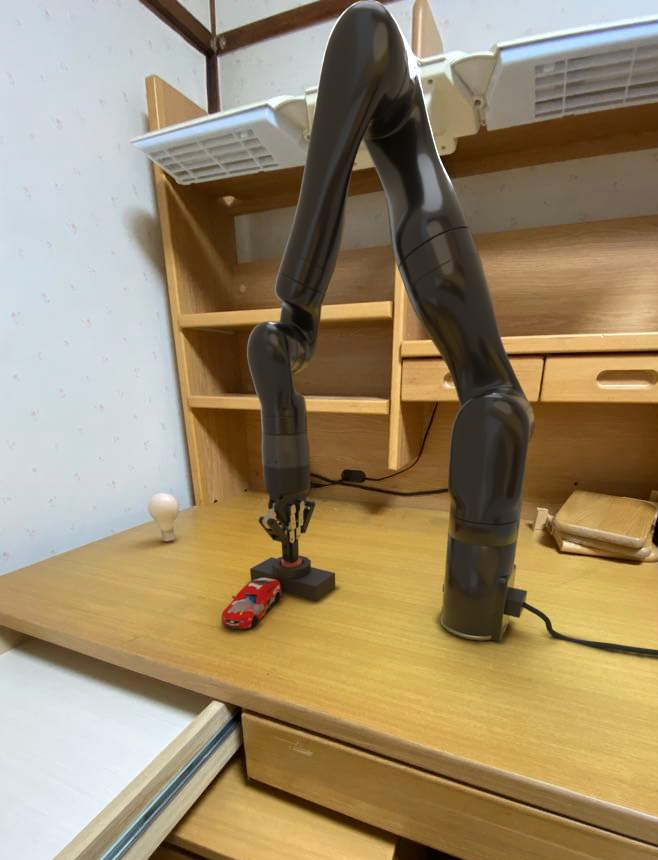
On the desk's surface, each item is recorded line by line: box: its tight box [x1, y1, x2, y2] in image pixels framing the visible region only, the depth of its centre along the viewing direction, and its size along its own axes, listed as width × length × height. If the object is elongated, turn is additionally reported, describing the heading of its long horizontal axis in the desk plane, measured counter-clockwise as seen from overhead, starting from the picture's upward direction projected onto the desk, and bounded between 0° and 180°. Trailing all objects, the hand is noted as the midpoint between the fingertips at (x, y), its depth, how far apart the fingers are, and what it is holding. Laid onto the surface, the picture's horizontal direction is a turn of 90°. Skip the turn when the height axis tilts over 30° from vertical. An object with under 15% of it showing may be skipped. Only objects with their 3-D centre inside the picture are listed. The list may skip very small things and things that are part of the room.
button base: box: [249, 554, 336, 603], centre depth 80 cm, size 14×6×4 cm, turn 59°
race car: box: [221, 578, 283, 630], centre depth 72 cm, size 13×5×4 cm, turn 161°
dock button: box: [281, 558, 302, 567], centre depth 80 cm, size 4×4×2 cm
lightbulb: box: [147, 492, 180, 543], centre depth 100 cm, size 6×6×11 cm
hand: (291, 560), depth 79 cm, fingers closed
